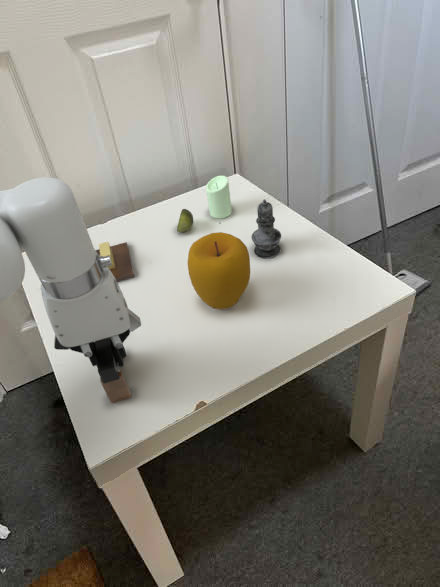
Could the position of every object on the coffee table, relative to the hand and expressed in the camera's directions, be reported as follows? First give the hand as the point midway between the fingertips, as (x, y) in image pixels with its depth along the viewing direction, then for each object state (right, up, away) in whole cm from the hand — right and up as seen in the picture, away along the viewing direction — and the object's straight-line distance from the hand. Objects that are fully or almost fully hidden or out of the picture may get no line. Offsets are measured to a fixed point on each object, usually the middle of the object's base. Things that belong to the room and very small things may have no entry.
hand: (110, 361), depth 71 cm
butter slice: (-6, +17, +23) cm, 29 cm away
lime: (+9, +25, +30) cm, 40 cm away
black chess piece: (+26, +19, +22) cm, 39 cm away
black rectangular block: (0, -3, +3) cm, 4 cm away
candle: (+17, +29, +34) cm, 47 cm away
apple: (+18, +10, +13) cm, 24 cm away
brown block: (0, -3, +3) cm, 4 cm away
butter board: (-8, +15, +23) cm, 29 cm away
